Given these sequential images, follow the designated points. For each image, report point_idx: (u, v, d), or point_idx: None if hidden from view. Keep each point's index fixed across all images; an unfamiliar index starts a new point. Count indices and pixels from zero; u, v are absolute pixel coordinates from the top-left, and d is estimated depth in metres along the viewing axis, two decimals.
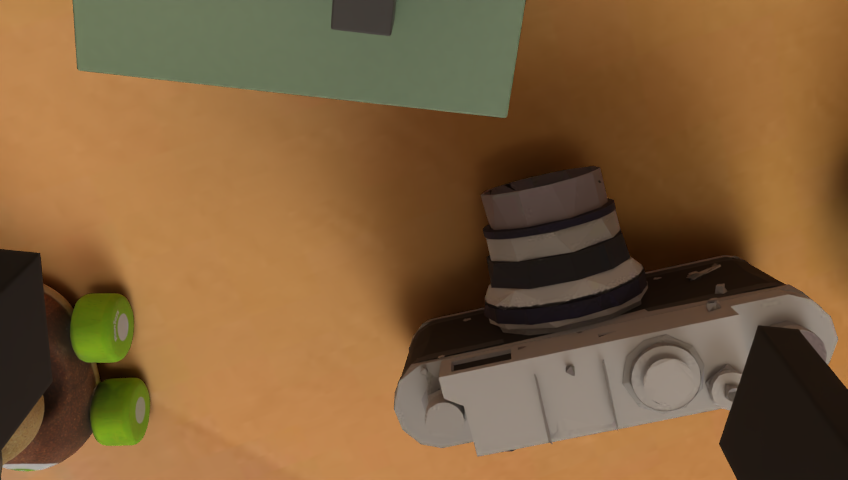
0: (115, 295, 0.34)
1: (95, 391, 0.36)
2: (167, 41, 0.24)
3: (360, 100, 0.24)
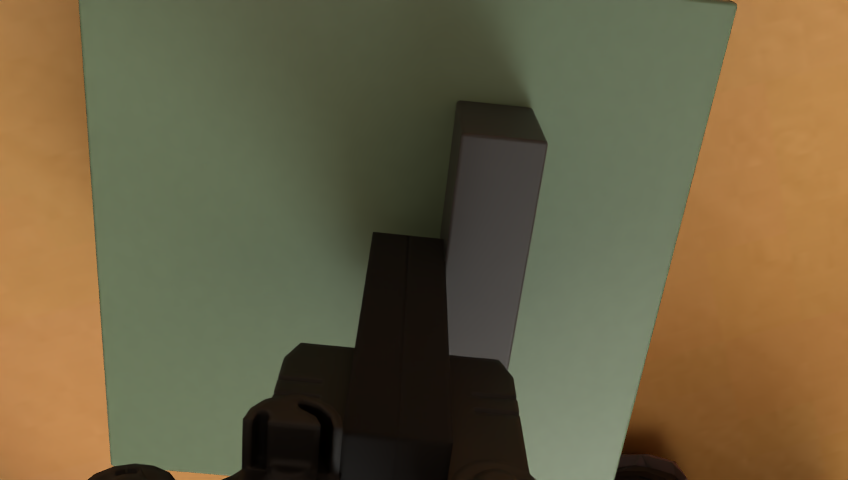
0: None
1: None
2: (216, 439, 0.20)
3: None
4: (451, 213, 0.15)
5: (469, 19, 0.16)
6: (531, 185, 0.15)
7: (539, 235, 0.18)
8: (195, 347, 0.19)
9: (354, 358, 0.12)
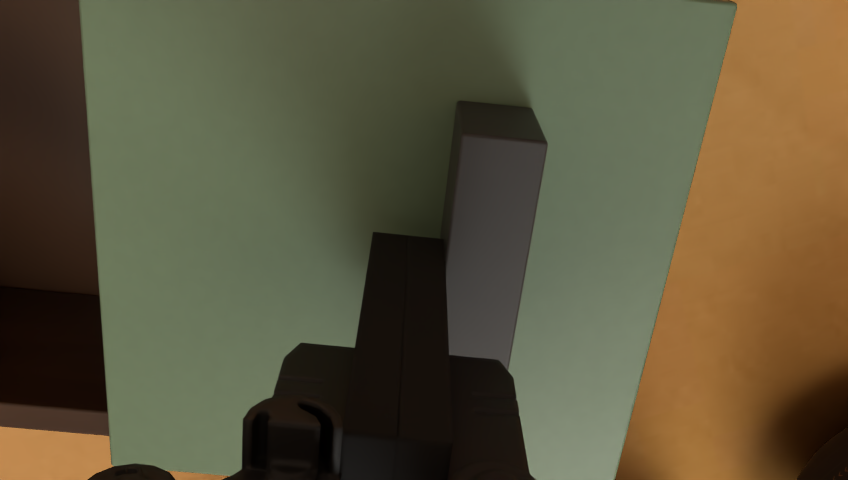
0: None
1: None
2: (216, 439, 0.20)
3: None
4: (451, 213, 0.15)
5: (469, 19, 0.16)
6: (531, 185, 0.15)
7: (539, 236, 0.18)
8: (195, 347, 0.19)
9: (354, 358, 0.12)
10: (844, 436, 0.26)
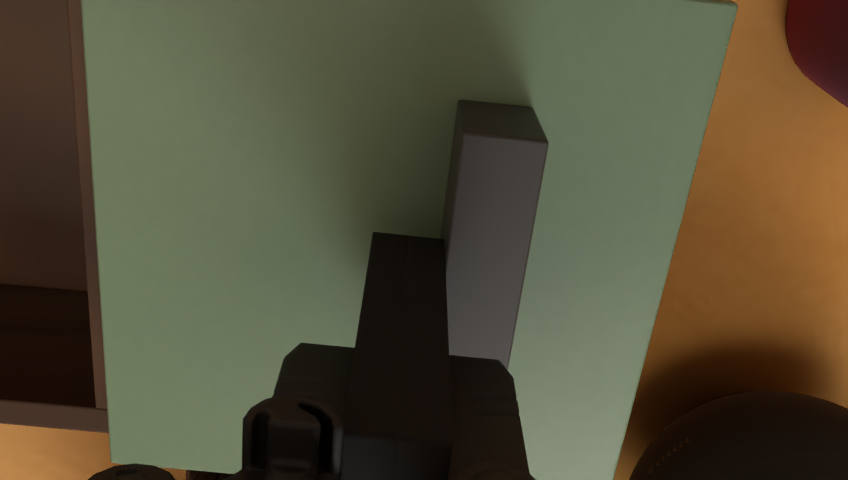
0: None
1: None
2: (216, 437, 0.20)
3: None
4: (452, 212, 0.15)
5: (470, 18, 0.16)
6: (532, 184, 0.15)
7: (539, 235, 0.18)
8: (195, 345, 0.19)
9: (354, 358, 0.12)
10: (677, 421, 0.26)
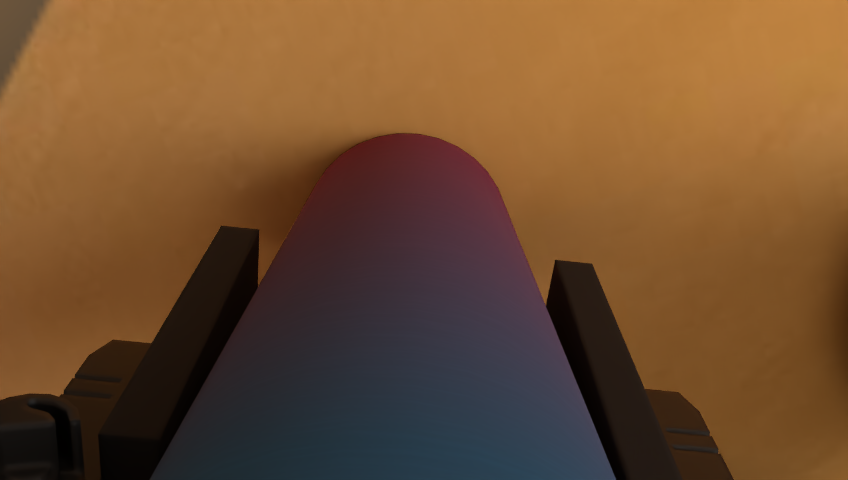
0: None
1: None
2: None
3: None
4: None
5: None
6: None
7: None
8: None
9: (146, 356, 0.12)
10: None
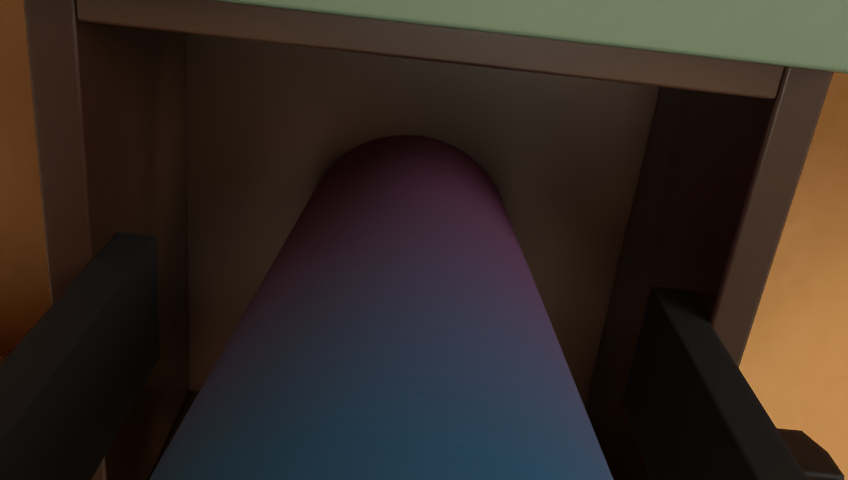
0: None
1: None
2: None
3: None
4: None
5: None
6: None
7: None
8: None
9: None
10: None
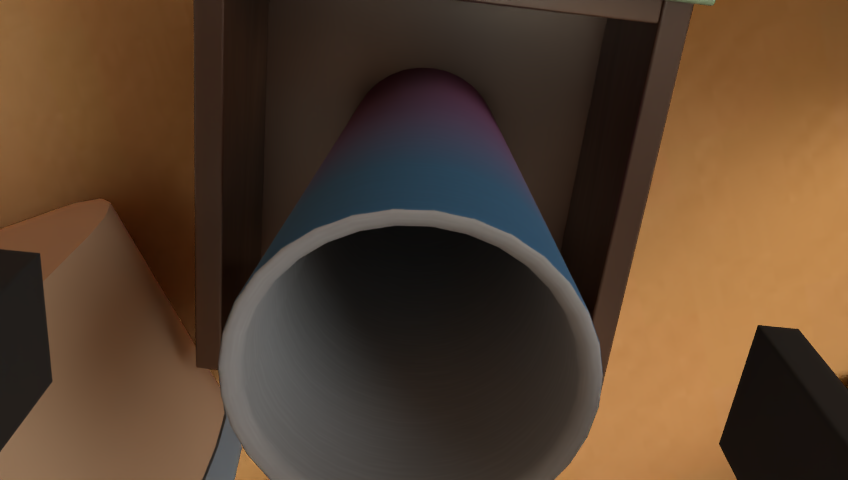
0: None
1: None
2: None
3: None
4: None
5: None
6: None
7: None
8: None
9: None
10: None
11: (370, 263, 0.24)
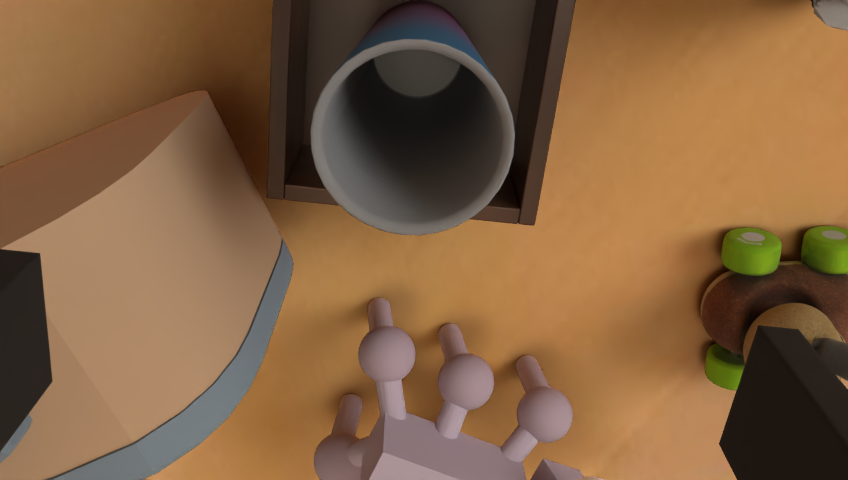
0: (725, 238, 0.44)
1: (807, 265, 0.44)
2: None
3: None
4: None
5: None
6: None
7: None
8: None
9: None
10: None
11: (383, 123, 0.36)
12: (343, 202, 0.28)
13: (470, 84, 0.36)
